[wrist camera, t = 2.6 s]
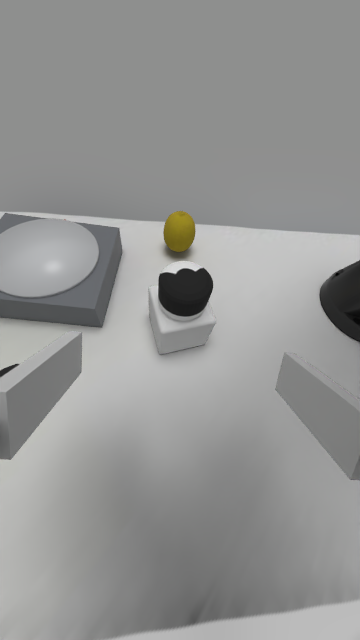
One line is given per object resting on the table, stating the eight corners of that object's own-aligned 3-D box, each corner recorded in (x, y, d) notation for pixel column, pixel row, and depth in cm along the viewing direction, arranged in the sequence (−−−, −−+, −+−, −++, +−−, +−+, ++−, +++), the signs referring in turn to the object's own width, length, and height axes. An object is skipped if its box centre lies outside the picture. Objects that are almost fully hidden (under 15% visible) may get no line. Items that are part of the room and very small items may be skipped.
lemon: (182, 237, 45) (187, 198, 38) (196, 255, 43) (205, 218, 36) (157, 245, 43) (158, 205, 36) (171, 264, 41) (175, 226, 34)
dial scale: (123, 248, 41) (119, 222, 37) (101, 327, 33) (93, 306, 28) (22, 236, 40) (4, 206, 35) (-27, 314, 32) (-58, 290, 27)
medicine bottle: (205, 344, 33) (229, 298, 23) (159, 355, 32) (162, 310, 21) (191, 306, 37) (206, 249, 26) (148, 313, 35) (147, 257, 25)
